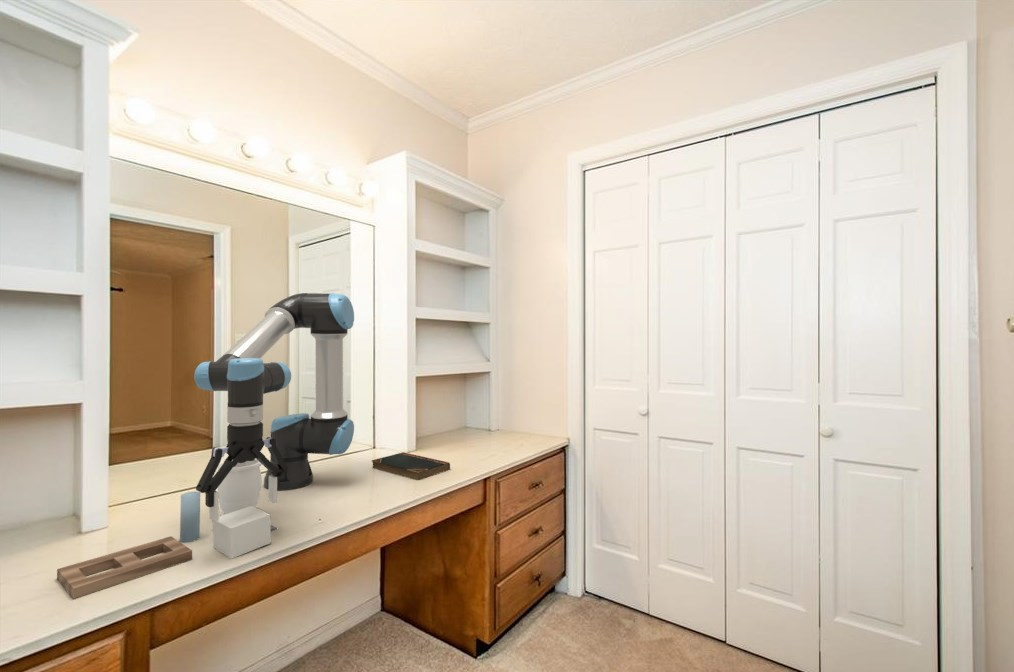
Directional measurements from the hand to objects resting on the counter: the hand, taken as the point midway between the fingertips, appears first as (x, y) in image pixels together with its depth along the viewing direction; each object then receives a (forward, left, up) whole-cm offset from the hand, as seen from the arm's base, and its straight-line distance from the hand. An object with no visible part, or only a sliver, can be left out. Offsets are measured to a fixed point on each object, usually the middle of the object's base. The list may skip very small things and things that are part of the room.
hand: (244, 510), depth 112 cm
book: (-17, +70, -9) cm, 72 cm away
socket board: (-8, -20, -8) cm, 23 cm away
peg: (-14, -6, -8) cm, 17 cm away
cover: (0, 0, -8) cm, 8 cm away
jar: (-19, +8, -9) cm, 22 cm away
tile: (-6, +7, -8) cm, 12 cm away
